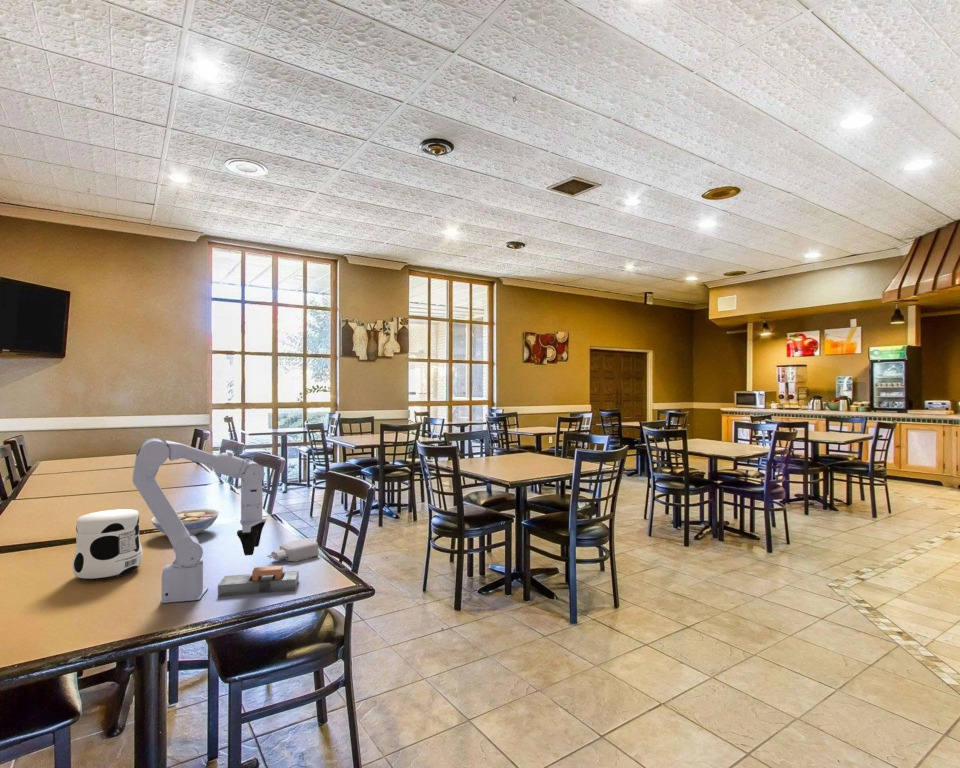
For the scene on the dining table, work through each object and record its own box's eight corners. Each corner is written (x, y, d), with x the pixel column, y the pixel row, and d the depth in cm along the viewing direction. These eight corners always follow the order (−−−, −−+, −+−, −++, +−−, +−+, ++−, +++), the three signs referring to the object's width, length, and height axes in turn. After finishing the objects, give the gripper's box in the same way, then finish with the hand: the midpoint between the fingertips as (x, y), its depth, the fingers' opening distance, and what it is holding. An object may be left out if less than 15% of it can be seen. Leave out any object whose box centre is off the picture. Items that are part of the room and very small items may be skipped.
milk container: (82, 569, 162) (82, 511, 162) (147, 561, 168) (147, 506, 168) (63, 589, 146) (63, 525, 146) (136, 580, 153) (136, 518, 153)
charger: (262, 561, 169) (305, 550, 180) (274, 568, 163) (318, 556, 173) (262, 546, 169) (305, 536, 180) (274, 553, 163) (318, 542, 173)
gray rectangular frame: (217, 596, 141) (217, 585, 141) (224, 586, 147) (224, 576, 147) (295, 590, 145) (295, 579, 145) (298, 580, 152) (298, 570, 152)
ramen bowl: (224, 537, 194) (224, 516, 194) (152, 548, 181) (152, 525, 181) (214, 523, 215) (214, 503, 215) (149, 532, 202) (149, 511, 202)
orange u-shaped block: (252, 591, 144) (252, 571, 144) (254, 586, 147) (254, 567, 147) (280, 588, 146) (280, 569, 146) (282, 584, 149) (282, 565, 149)
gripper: (261, 508, 144) (261, 557, 144) (270, 497, 158) (271, 542, 158) (234, 510, 142) (234, 559, 142) (246, 498, 156) (246, 543, 156)
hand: (251, 550), depth 150 cm, fingers open, 7 cm apart
